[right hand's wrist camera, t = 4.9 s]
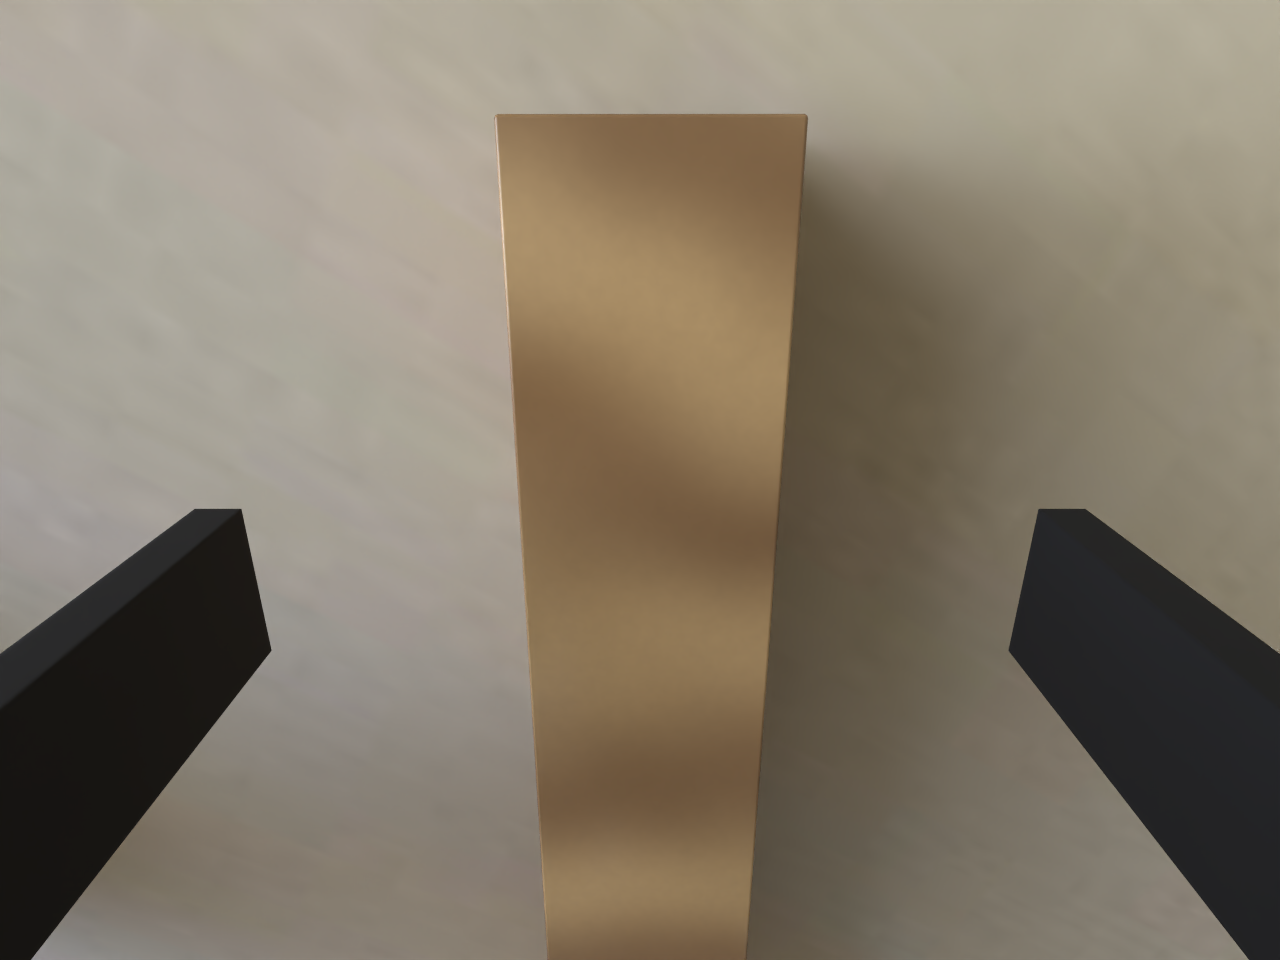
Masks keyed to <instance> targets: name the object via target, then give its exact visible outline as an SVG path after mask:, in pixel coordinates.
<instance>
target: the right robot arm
mask: <svg viewBox="0 0 1280 960" xmlns="http://www.w3.org/2000/svg"><path fill="white" fill-rule="evenodd" d="M270 652H271V646H270V641H269V637H268V632H267V627H266V623H265V618H264V613H263V608H262V604H261V599H260V594H259V590H258V585H257V580H256V576H255V571H254V566H253V561H252V557H251V552H250V547H249V543H248V538H247V533H246V529H245V524H244V519H243V514H242V510H241V509H194V510H193V511H191V512H190V513H189V514H187V515H186V516H185V517H183V518H182V519H181V520H179V521H178V522H177V523H175V524H174V525H173V526H171V527H170V528H169V529H167V530H166V531H165V532H163V533H162V534H161V535H159V536H158V537H157V538H155V539H154V540H153V541H151V542H150V543H148V544H147V545H146V546H144V547H143V548H142V549H140V550H139V551H138V552H136V553H135V554H134V555H132V556H131V557H130V558H128V559H127V560H126V561H124V562H123V563H122V564H120V565H119V566H118V567H116V568H115V569H114V570H112V571H111V572H110V573H108V574H107V575H106V576H104V577H103V578H102V579H100V580H99V581H98V582H96V583H95V584H94V585H92V586H91V587H89V588H88V589H87V590H85V591H84V592H83V593H81V594H80V595H79V596H77V597H76V598H75V599H73V600H72V601H71V602H69V603H68V604H67V605H65V606H64V607H63V608H61V609H60V610H59V611H57V612H56V613H55V614H53V615H52V616H51V617H49V618H48V619H47V620H45V621H44V622H43V623H41V624H40V625H39V626H37V627H36V628H34V629H33V630H32V631H30V632H29V633H28V634H26V635H25V636H24V637H22V638H21V639H20V640H18V641H17V642H16V643H14V644H13V645H12V646H10V647H9V648H8V649H6V650H5V651H4V652H2V653H1V654H0V960H31V959H32V958H33V956H34V955H35V954H36V952H37V951H38V950H39V949H40V947H41V946H42V945H43V944H44V942H45V941H46V940H47V938H48V937H49V936H50V935H51V933H52V932H53V931H54V929H55V928H56V927H57V926H58V924H59V923H60V922H61V920H62V919H63V918H64V917H65V915H66V914H67V913H68V911H69V910H70V909H71V908H72V906H73V905H74V904H75V902H76V901H77V900H78V899H79V897H80V896H81V895H82V893H83V892H84V891H85V890H86V888H87V887H88V886H89V884H90V883H91V882H92V881H93V879H94V878H95V877H96V875H97V874H98V873H99V872H100V870H101V869H102V868H103V866H104V865H105V864H106V863H107V861H108V860H109V859H110V857H111V856H112V855H113V854H114V852H115V851H116V850H117V848H118V847H119V846H120V845H121V843H122V842H123V841H124V839H125V838H126V837H127V836H128V834H129V833H130V832H131V830H132V829H133V828H134V827H135V825H136V824H137V823H138V821H139V820H140V819H141V818H142V816H143V815H144V814H145V812H146V811H147V810H148V809H149V807H150V806H151V805H152V803H153V802H154V801H155V800H156V798H157V797H158V796H159V794H160V793H161V792H162V791H163V789H164V788H165V787H166V785H167V784H168V783H169V782H170V780H171V779H172V778H173V776H174V775H175V774H176V773H177V771H178V770H179V769H180V767H181V766H182V765H183V764H184V762H185V761H186V760H187V758H188V757H189V756H190V755H191V753H192V752H193V751H194V749H195V748H196V747H197V746H198V744H199V743H200V742H201V740H202V739H203V738H204V737H205V735H206V734H207V733H208V731H209V730H210V729H211V728H212V726H213V725H214V724H215V722H216V721H217V720H218V719H219V717H220V716H221V715H222V713H223V712H224V711H225V710H226V708H227V707H228V706H229V704H230V703H231V702H232V701H233V699H234V698H235V697H236V696H237V694H238V693H239V692H240V690H241V689H242V688H243V687H244V685H245V684H246V683H247V681H248V680H249V679H250V678H251V676H252V675H253V674H254V672H255V671H256V670H257V669H258V667H259V666H260V665H261V663H262V662H263V661H264V660H265V658H266V657H267V656H268V654H269V653H270ZM1009 652H1010V653H1011V654H1012V656H1013V657H1014V658H1015V660H1016V661H1017V662H1018V663H1019V665H1020V666H1021V667H1022V669H1023V670H1024V671H1025V672H1026V674H1027V675H1028V676H1029V678H1030V679H1031V680H1032V681H1033V683H1034V684H1035V685H1036V687H1037V688H1038V689H1039V690H1040V692H1041V693H1042V694H1043V696H1044V697H1045V698H1046V699H1047V701H1048V702H1049V703H1050V705H1051V706H1052V707H1053V708H1054V710H1055V711H1056V712H1057V713H1058V715H1059V716H1060V717H1061V719H1062V720H1063V721H1064V722H1065V724H1066V725H1067V726H1068V728H1069V729H1070V730H1071V731H1072V733H1073V734H1074V735H1075V737H1076V738H1077V739H1078V740H1079V742H1080V743H1081V744H1082V746H1083V747H1084V748H1085V749H1086V751H1087V752H1088V753H1089V755H1090V756H1091V757H1092V758H1093V760H1094V761H1095V762H1096V764H1097V765H1098V766H1099V767H1100V769H1101V770H1102V771H1103V773H1104V774H1105V775H1106V776H1107V778H1108V779H1109V780H1110V782H1111V783H1112V784H1113V785H1114V787H1115V788H1116V789H1117V791H1118V792H1119V793H1120V794H1121V796H1122V797H1123V798H1124V800H1125V801H1126V802H1127V803H1128V805H1129V806H1130V807H1131V809H1132V810H1133V811H1134V812H1135V814H1136V815H1137V816H1138V818H1139V819H1140V820H1141V821H1142V823H1143V824H1144V825H1145V827H1146V828H1147V829H1148V830H1149V832H1150V833H1151V834H1152V836H1153V837H1154V838H1155V839H1156V841H1157V842H1158V843H1159V845H1160V846H1161V847H1162V848H1163V850H1164V851H1165V852H1166V854H1167V855H1168V856H1169V857H1170V859H1171V860H1172V861H1173V863H1174V864H1175V865H1176V866H1177V868H1178V869H1179V870H1180V872H1181V873H1182V874H1183V875H1184V877H1185V878H1186V879H1187V881H1188V882H1189V883H1190V884H1191V886H1192V887H1193V888H1194V890H1195V891H1196V892H1197V893H1198V895H1199V896H1200V897H1201V899H1202V900H1203V901H1204V902H1205V904H1206V905H1207V906H1208V908H1209V909H1210V910H1211V911H1212V913H1213V914H1214V915H1215V917H1216V918H1217V919H1218V920H1219V922H1220V923H1221V924H1222V926H1223V927H1224V928H1225V929H1226V931H1227V932H1228V933H1229V935H1230V936H1231V937H1232V938H1233V940H1234V941H1235V942H1236V944H1237V945H1238V946H1239V947H1240V949H1241V950H1242V951H1243V952H1244V954H1245V955H1246V956H1247V958H1248V959H1249V960H1280V654H1279V653H1278V652H1276V651H1275V650H1274V649H1272V648H1271V647H1270V646H1268V645H1267V644H1266V643H1264V642H1263V641H1262V640H1260V639H1259V638H1258V637H1256V636H1255V635H1254V634H1252V633H1251V632H1250V631H1248V630H1247V629H1246V628H1244V627H1243V626H1241V625H1240V624H1239V623H1237V622H1236V621H1235V620H1233V619H1232V618H1231V617H1229V616H1228V615H1227V614H1225V613H1224V612H1223V611H1221V610H1220V609H1219V608H1217V607H1216V606H1215V605H1213V604H1212V603H1211V602H1209V601H1208V600H1207V599H1205V598H1204V597H1203V596H1201V595H1200V594H1199V593H1197V592H1196V591H1195V590H1193V589H1192V588H1191V587H1189V586H1188V585H1186V584H1185V583H1184V582H1182V581H1181V580H1180V579H1178V578H1177V577H1176V576H1174V575H1173V574H1172V573H1170V572H1169V571H1168V570H1166V569H1165V568H1164V567H1162V566H1161V565H1160V564H1158V563H1157V562H1156V561H1154V560H1153V559H1152V558H1150V557H1149V556H1148V555H1146V554H1145V553H1144V552H1142V551H1141V550H1140V549H1138V548H1137V547H1136V546H1134V545H1133V544H1132V543H1130V542H1129V541H1127V540H1126V539H1125V538H1123V537H1122V536H1121V535H1119V534H1118V533H1117V532H1115V531H1114V530H1113V529H1111V528H1110V527H1109V526H1107V525H1106V524H1105V523H1103V522H1102V521H1101V520H1099V519H1098V518H1097V517H1095V516H1094V515H1093V514H1091V513H1090V512H1089V511H1087V510H1086V509H1039V510H1038V514H1037V519H1036V524H1035V529H1034V533H1033V538H1032V543H1031V547H1030V552H1029V557H1028V561H1027V566H1026V571H1025V576H1024V580H1023V585H1022V590H1021V594H1020V599H1019V604H1018V608H1017V613H1016V618H1015V623H1014V627H1013V632H1012V637H1011V641H1010V646H1009Z"/></svg>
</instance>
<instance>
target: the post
mask: <svg viewBox="0 0 1280 960" xmlns="http://www.w3.org/2000/svg"><path fill="white" fill-rule="evenodd" d="M494 121H495V136H496V152H497V168H498V184H499V199H500V215H501V231H502V247H503V263H504V278H505V294H506V310H507V326H508V341H509V357H510V373H511V389H512V404H513V420H514V436H515V452H516V467H517V483H518V499H519V515H520V530H521V546H522V562H523V578H524V593H525V609H526V625H527V641H528V656H529V672H530V688H531V704H532V720H533V735H534V751H535V767H536V783H537V798H538V814H539V830H540V846H541V861H542V877H543V893H544V909H545V924H546V940H547V956H548V960H746V958H747V944H748V930H749V917H750V903H751V889H752V876H753V862H754V848H755V835H756V821H757V807H758V794H759V780H760V766H761V753H762V739H763V725H764V712H765V698H766V684H767V671H768V657H769V643H770V630H771V616H772V602H773V589H774V575H775V561H776V548H777V534H778V520H779V507H780V493H781V480H782V466H783V452H784V439H785V425H786V411H787V398H788V384H789V370H790V357H791V343H792V329H793V316H794V302H795V288H796V275H797V261H798V247H799V234H800V220H801V206H802V193H803V179H804V165H805V152H806V138H807V124H808V117H807V115H805V114H498V115H495V118H494Z"/></svg>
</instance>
